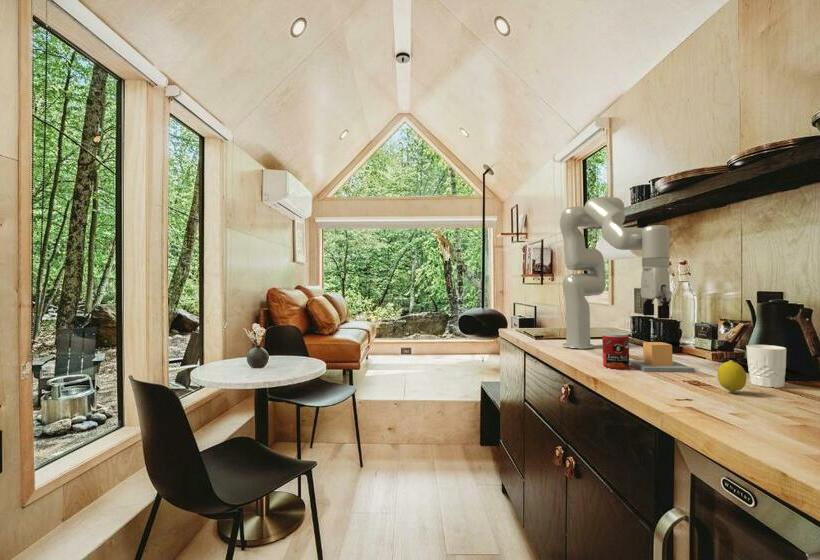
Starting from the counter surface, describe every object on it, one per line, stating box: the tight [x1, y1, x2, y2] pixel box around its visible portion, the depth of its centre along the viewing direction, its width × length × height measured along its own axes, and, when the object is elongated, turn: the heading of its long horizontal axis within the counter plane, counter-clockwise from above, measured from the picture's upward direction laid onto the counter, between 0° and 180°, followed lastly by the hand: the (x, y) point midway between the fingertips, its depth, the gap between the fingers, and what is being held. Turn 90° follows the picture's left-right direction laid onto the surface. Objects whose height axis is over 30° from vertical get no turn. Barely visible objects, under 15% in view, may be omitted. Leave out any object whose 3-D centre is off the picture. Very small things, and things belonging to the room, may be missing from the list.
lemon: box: [716, 360, 747, 394], centre depth 97 cm, size 6×6×8 cm
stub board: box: [629, 359, 695, 373], centre depth 127 cm, size 13×14×6 cm
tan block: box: [642, 341, 674, 366], centre depth 128 cm, size 6×6×6 cm
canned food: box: [601, 331, 630, 371], centre depth 129 cm, size 8×8×11 cm
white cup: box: [745, 344, 787, 389], centre depth 105 cm, size 8×8×10 cm
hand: (655, 316), depth 128 cm, fingers open, 9 cm apart
